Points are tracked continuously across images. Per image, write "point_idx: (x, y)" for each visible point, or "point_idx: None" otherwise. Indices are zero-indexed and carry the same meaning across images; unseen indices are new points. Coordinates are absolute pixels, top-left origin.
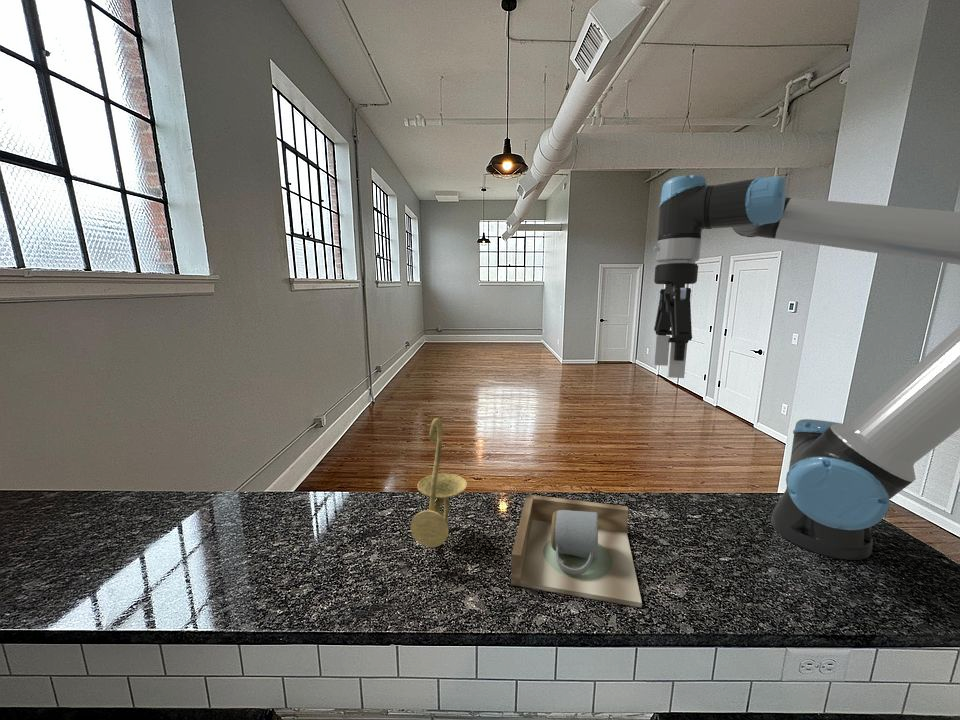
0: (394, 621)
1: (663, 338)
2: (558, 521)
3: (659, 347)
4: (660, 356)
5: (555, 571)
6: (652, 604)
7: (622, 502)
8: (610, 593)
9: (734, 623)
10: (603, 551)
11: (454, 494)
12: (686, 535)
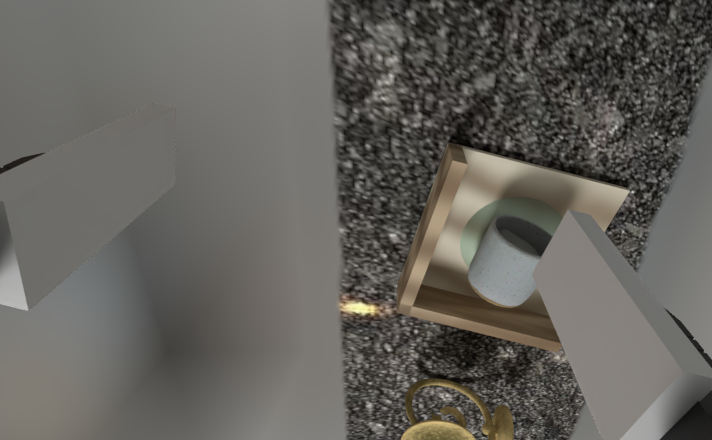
0: (571, 411)
1: (40, 242)
2: (519, 303)
3: (101, 221)
4: (143, 179)
5: None
6: (625, 170)
7: (340, 107)
8: (600, 223)
9: (697, 68)
10: (510, 204)
11: (472, 435)
12: (470, 21)
